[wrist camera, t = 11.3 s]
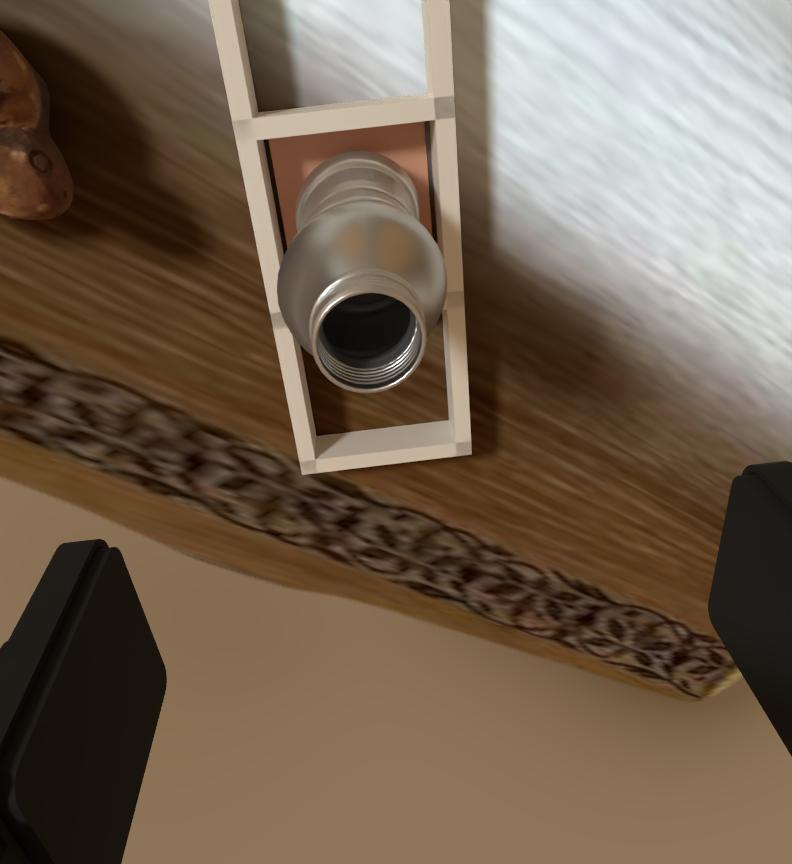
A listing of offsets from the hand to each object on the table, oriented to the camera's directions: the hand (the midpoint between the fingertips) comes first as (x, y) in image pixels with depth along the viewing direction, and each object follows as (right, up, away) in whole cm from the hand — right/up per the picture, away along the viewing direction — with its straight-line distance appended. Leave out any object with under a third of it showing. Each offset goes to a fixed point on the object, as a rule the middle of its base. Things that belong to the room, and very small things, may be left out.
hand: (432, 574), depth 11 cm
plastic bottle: (-3, +15, +29) cm, 33 cm away
